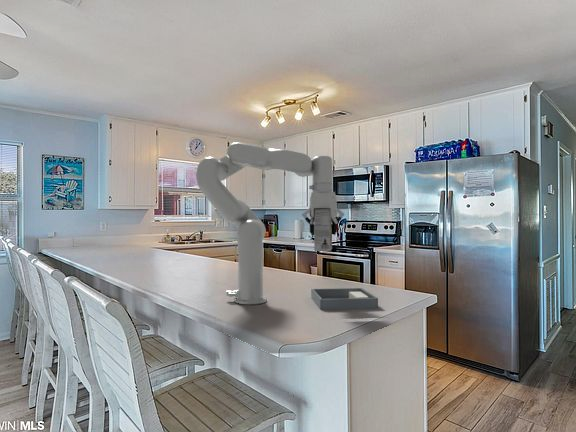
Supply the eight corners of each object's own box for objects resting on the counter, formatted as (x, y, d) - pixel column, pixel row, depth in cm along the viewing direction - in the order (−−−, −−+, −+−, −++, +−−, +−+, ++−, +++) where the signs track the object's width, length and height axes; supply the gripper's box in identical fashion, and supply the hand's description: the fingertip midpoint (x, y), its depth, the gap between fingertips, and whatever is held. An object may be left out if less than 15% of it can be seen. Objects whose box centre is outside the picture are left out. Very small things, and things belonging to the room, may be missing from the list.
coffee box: (316, 248, 145) (315, 208, 145) (332, 248, 144) (331, 208, 144) (314, 250, 136) (313, 207, 136) (331, 251, 135) (330, 207, 135)
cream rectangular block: (356, 305, 131) (356, 297, 131) (348, 299, 141) (348, 291, 141) (368, 305, 131) (368, 297, 131) (360, 299, 141) (360, 291, 141)
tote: (320, 312, 125) (320, 299, 125) (311, 300, 143) (311, 288, 143) (378, 311, 127) (378, 298, 127) (361, 299, 146) (361, 288, 146)
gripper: (302, 187, 135) (302, 235, 135) (347, 187, 137) (348, 234, 137) (298, 189, 142) (299, 234, 142) (341, 189, 145) (342, 233, 145)
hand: (323, 234), depth 140 cm, fingers closed on coffee box, 7 cm apart
